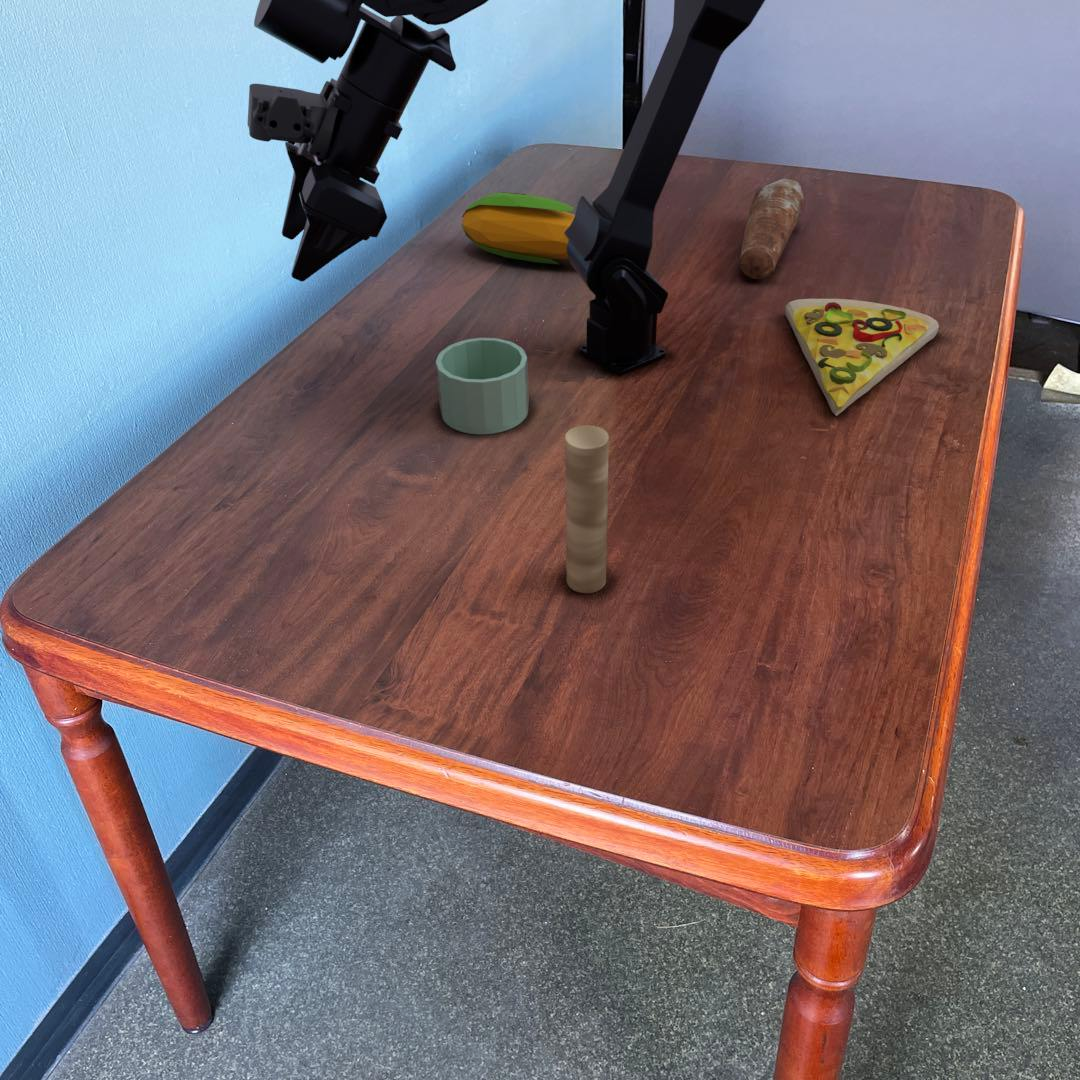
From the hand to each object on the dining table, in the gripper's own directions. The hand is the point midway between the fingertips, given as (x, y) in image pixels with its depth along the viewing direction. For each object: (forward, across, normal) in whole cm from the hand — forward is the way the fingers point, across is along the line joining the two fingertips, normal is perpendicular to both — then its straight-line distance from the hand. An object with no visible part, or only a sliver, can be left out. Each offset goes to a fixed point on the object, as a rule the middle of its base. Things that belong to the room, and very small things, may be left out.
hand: (291, 257), depth 94 cm
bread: (-19, -18, +55) cm, 61 cm away
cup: (+4, +6, +21) cm, 22 cm away
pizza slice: (-16, +9, +51) cm, 54 cm away
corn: (-4, -25, +33) cm, 42 cm away
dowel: (+3, +32, +22) cm, 39 cm away
